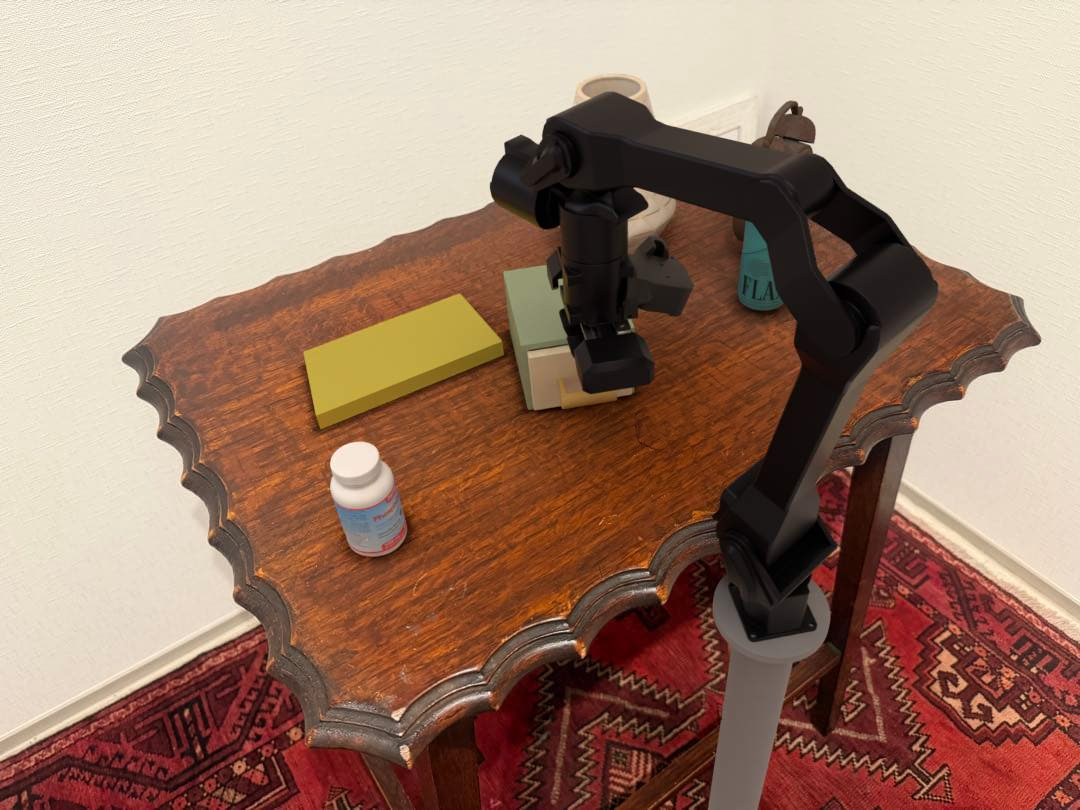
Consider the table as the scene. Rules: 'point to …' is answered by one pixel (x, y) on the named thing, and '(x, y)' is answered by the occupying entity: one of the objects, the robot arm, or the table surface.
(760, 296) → the beverage bottle
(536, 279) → the cabinet
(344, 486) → the pill bottle
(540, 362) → the drawer
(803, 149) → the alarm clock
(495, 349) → the flat olive board
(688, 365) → the table surface
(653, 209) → the vase
